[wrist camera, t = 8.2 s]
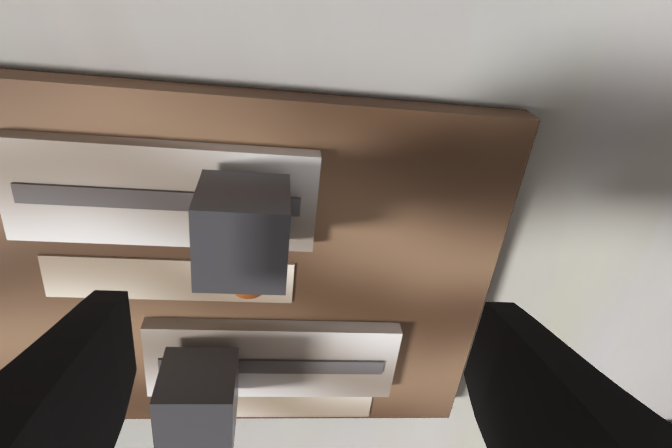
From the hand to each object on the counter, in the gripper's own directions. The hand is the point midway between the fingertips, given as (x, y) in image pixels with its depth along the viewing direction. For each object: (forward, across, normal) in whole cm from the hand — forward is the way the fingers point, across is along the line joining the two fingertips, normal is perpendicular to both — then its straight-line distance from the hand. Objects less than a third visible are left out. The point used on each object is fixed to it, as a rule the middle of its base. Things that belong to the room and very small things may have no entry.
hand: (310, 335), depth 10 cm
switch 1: (+5, +3, +6) cm, 9 cm away
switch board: (+7, +2, +3) cm, 8 cm away
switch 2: (+5, +2, 0) cm, 5 cm away
